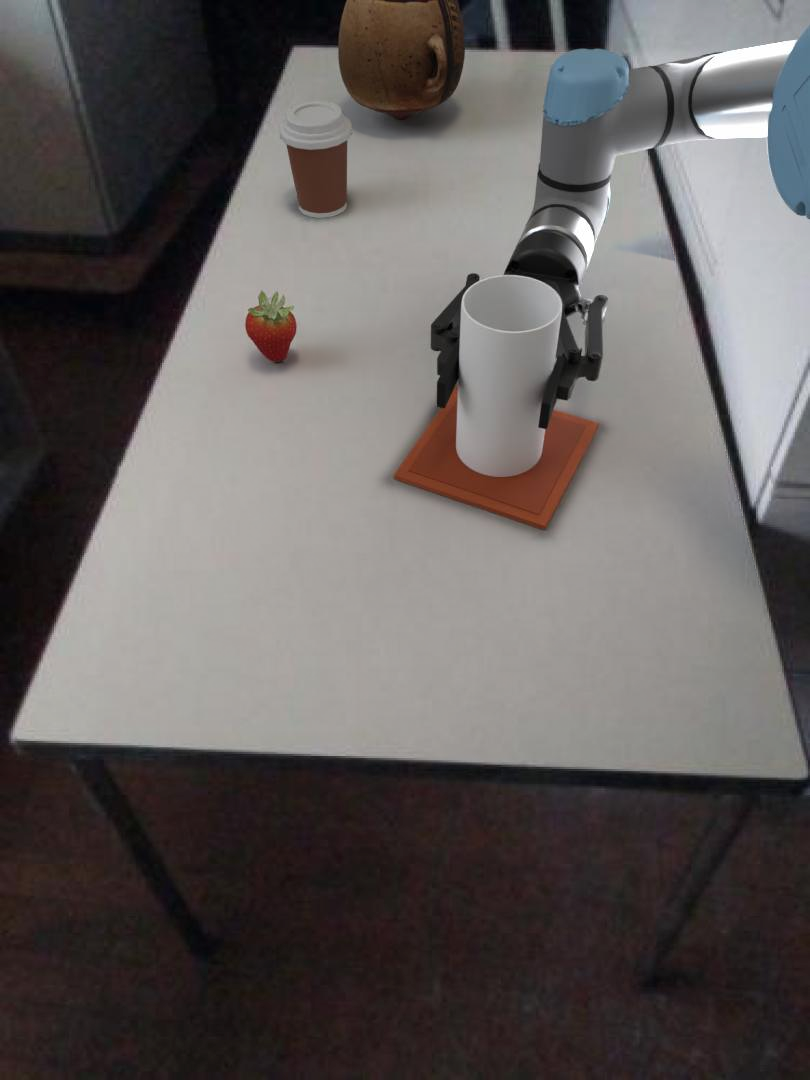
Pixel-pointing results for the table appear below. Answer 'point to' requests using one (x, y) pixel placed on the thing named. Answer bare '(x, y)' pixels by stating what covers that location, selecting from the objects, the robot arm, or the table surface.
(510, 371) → the cup
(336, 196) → the coffee cup
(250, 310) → the fruit
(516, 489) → the mat
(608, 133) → the robot arm
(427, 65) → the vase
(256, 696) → the table surface
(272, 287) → the table surface
